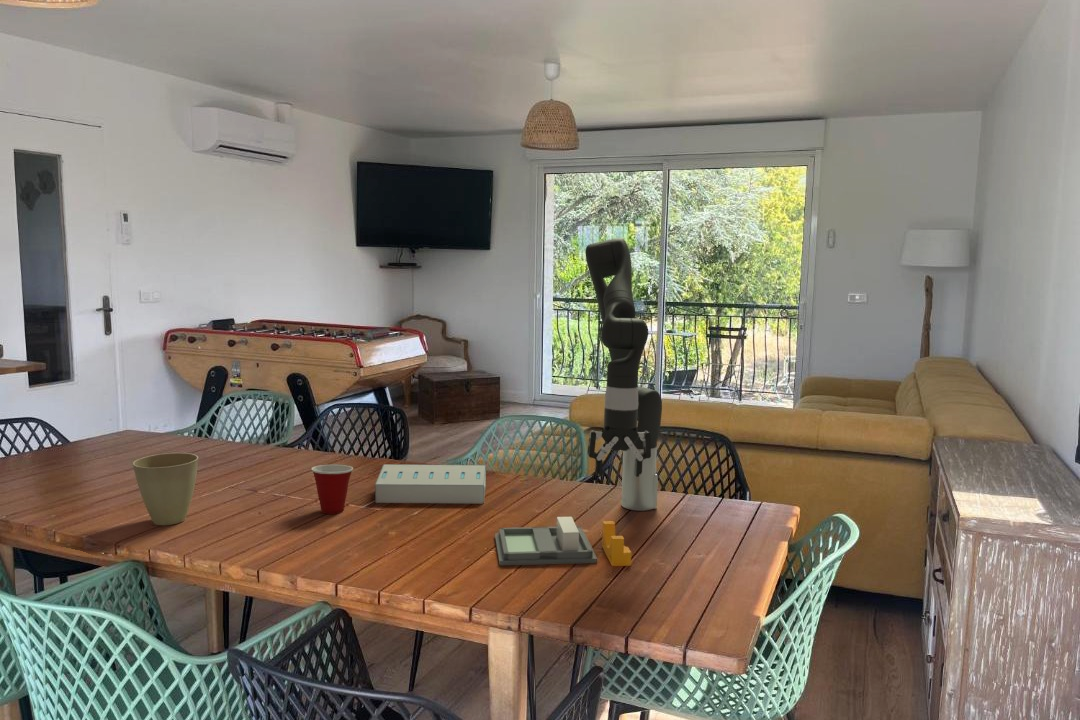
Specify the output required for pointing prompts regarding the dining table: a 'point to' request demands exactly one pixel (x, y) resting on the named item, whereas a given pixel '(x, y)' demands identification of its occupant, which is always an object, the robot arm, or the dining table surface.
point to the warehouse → (431, 484)
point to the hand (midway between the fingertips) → (618, 475)
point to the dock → (544, 545)
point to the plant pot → (167, 485)
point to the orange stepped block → (615, 546)
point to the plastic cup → (332, 486)
